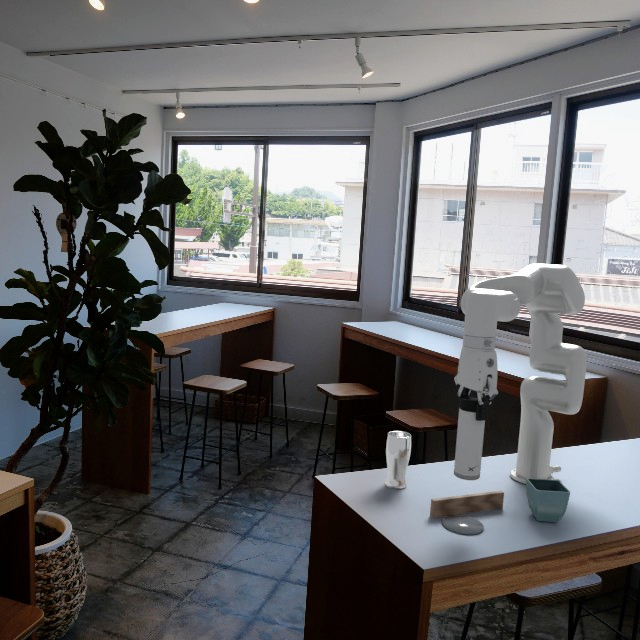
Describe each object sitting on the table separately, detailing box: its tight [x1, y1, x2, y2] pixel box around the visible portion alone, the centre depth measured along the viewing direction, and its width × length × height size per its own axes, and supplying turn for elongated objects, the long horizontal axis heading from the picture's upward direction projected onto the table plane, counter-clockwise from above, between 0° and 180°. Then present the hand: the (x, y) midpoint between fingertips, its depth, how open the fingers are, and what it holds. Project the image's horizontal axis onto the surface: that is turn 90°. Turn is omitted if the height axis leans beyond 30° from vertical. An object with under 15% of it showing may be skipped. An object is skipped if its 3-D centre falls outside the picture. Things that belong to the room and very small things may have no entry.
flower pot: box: [525, 478, 571, 523], centre depth 162 cm, size 9×9×9 cm
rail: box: [429, 490, 505, 519], centre depth 163 cm, size 22×1×4 cm, turn 113°
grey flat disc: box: [441, 514, 485, 536], centre depth 155 cm, size 10×10×1 cm
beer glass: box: [384, 430, 412, 490], centre depth 178 cm, size 7×7×15 cm
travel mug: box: [453, 395, 486, 481], centre depth 152 cm, size 6×7×20 cm
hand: (472, 415), depth 152 cm, fingers closed on travel mug, 6 cm apart
